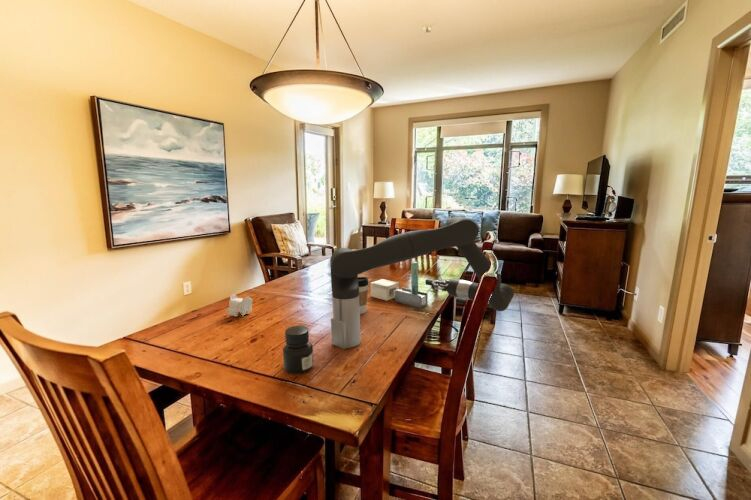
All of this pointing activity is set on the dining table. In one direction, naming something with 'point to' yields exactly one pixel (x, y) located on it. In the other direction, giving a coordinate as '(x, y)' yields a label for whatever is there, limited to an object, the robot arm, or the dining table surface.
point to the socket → (384, 289)
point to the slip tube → (414, 282)
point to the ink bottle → (297, 350)
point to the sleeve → (410, 298)
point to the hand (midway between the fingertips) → (426, 281)
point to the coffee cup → (363, 293)
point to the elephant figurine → (239, 305)
